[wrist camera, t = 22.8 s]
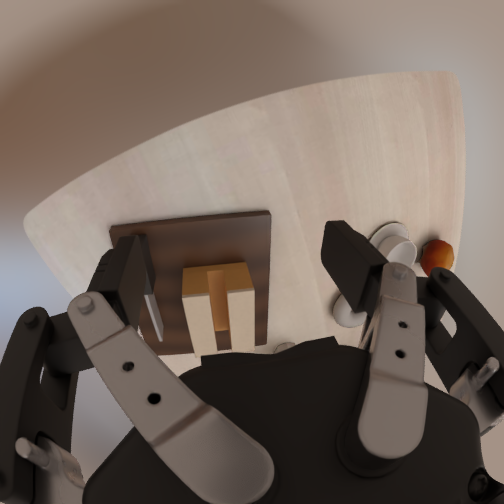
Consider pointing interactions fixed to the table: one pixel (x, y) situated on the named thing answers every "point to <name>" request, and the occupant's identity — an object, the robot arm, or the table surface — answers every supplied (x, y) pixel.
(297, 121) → the table surface
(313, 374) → the robot arm
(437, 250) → the fruit
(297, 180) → the table surface
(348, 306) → the donut
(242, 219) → the board
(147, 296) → the kitchen blade
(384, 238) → the teacup
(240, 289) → the orange u-shaped channel
